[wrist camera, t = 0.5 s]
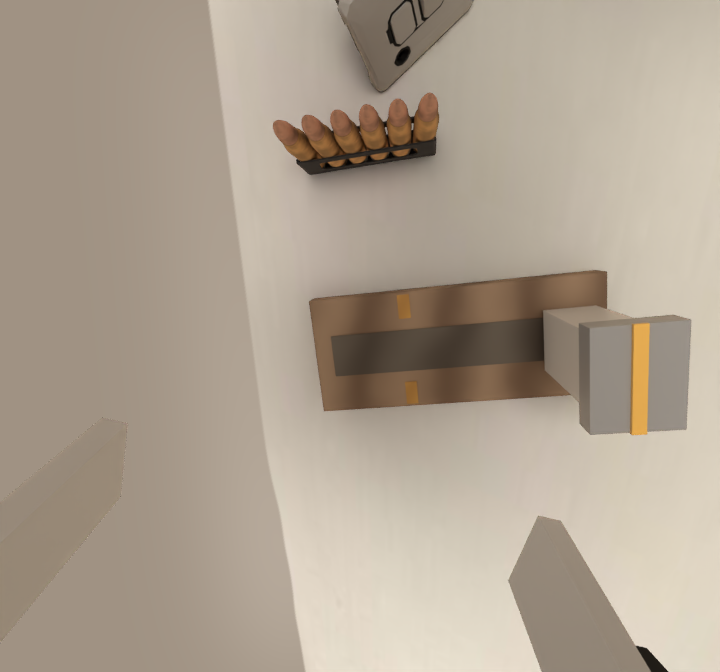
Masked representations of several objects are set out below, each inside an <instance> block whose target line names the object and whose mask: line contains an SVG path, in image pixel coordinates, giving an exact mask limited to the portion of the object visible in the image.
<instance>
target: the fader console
mask: <svg viewBox="0 0 720 672" xmlns="http://www.w3.org/2000/svg"><path fill="white" fill-rule="evenodd" d="M309 305H310V312H311V319H312V327H313V334H314V341H315V349H316V356H317V363H318V370H319V378H320V385H321V392H322V400H323V407H324V411H334V410H349V409H365V408H380V407H395V406H410V405H426V404H441V403H456V402H471V401H487V400H502V399H517V398H533V397H548V396H563V395H571V394H570V393H569V392H567V391H566V390H565V389H564V388H563V387H562V386H561V385H560V384H559V383H558V382H557V381H556V380H555V379H554V378H553V377H551V376H550V375H549V374H548V373H547V372H546V371H545V361H544V324H543V310H551V309H563V308H574V307H585V306H599V307H602V308H605V309H607V272H605V271H598V270H593V271H583V272H573V273H563V274H553V275H543V276H533V277H523V278H513V279H503V280H493V281H484V282H474V283H464V284H454V285H444V286H434V287H424V288H414V289H404V290H394V291H384V292H374V293H364V294H355V295H345V296H335V297H325V298H315V299H313V300H311V301H309Z"/></svg>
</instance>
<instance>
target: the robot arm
mask: <svg viewBox="0 0 720 672" xmlns="http://www.w3.org/2000/svg"><path fill="white" fill-rule="evenodd" d="M127 427H128V423H124V422H120V421H116V420H111V419H107V418H101V419H100V420H99V421H98V422H97V423H95V424H94V425H93V426H91V427H90V428H89V429H88V430H87V431H85V432H84V433H83V434H82V435H81V436H80V437H78V438H77V439H76V440H75V441H73V442H72V443H71V444H70V445H69V446H67V447H66V448H65V449H64V450H63V451H61V452H60V453H59V454H58V455H56V456H55V457H54V458H53V459H52V460H51V461H49V462H48V463H47V464H46V465H44V466H43V467H42V468H41V469H39V470H38V471H37V472H36V473H35V474H34V475H32V476H31V477H30V478H29V479H27V480H26V481H25V482H24V483H23V484H21V485H20V486H19V487H18V488H17V489H15V490H14V491H13V492H12V493H11V494H9V495H8V496H7V497H6V498H4V499H3V500H2V501H1V502H0V643H1V642H2V640H3V639H4V638H5V637H6V635H7V634H8V633H9V632H10V631H11V629H12V628H13V627H14V626H15V625H16V623H17V622H18V621H19V620H20V618H21V617H22V616H23V615H24V614H25V612H26V611H27V610H28V609H29V608H30V606H31V605H32V604H33V603H34V602H35V600H36V599H37V598H38V597H39V596H40V594H41V593H42V592H43V591H44V589H45V588H46V587H47V586H48V585H49V583H50V582H51V581H52V580H53V579H54V577H55V576H56V575H57V574H58V573H59V571H60V570H61V569H62V568H63V566H64V565H65V564H66V563H67V562H68V560H69V559H70V558H71V556H73V554H74V553H75V552H76V551H77V550H78V548H79V547H80V546H81V545H82V543H83V542H84V541H85V540H86V539H87V537H88V536H89V535H90V534H91V533H92V531H93V530H94V529H95V528H96V526H97V525H98V524H99V523H100V522H101V520H102V519H103V518H104V517H105V515H106V514H107V513H108V512H109V511H110V510H111V508H112V507H113V506H114V505H115V503H116V502H117V501H118V500H119V499H120V497H121V490H122V480H123V469H124V459H125V448H126V438H127ZM508 581H509V584H510V586H511V589H512V592H513V595H514V597H515V600H516V603H517V606H518V608H519V611H520V614H521V616H522V619H523V622H524V625H525V627H526V630H527V633H528V635H529V638H530V641H531V644H532V646H533V649H534V652H535V655H536V657H537V660H538V663H539V665H540V668H541V671H542V672H668V671H667V670H666V669H665V668H664V666H663V665H662V664H661V663H660V662H659V661H658V660H657V659H656V658H655V657H654V656H653V655H652V653H651V652H650V651H649V650H648V649H647V648H644V647H639V646H635V644H634V643H633V641H632V639H631V637H630V636H629V634H628V632H627V631H626V629H625V627H624V626H623V624H622V622H621V621H620V619H619V617H618V616H617V614H616V612H615V611H614V609H613V607H612V606H611V604H610V602H609V601H608V599H607V597H606V596H605V594H604V592H603V591H602V589H601V587H600V586H599V584H598V582H597V581H596V579H595V577H594V576H593V574H592V572H591V571H590V569H589V567H588V566H587V564H586V562H585V561H584V559H583V557H582V556H581V554H580V552H579V551H578V549H577V547H576V545H575V544H574V542H573V540H572V539H571V537H570V535H569V534H568V532H567V530H566V529H565V527H564V525H563V524H562V522H561V521H559V520H555V519H550V518H546V517H541V516H538V517H537V520H536V522H535V524H534V526H533V528H532V530H531V533H530V535H529V537H528V539H527V541H526V543H525V545H524V548H523V550H522V552H521V554H520V556H519V558H518V560H517V563H516V565H515V567H514V569H513V571H512V573H511V576H510V578H509V580H508Z"/></svg>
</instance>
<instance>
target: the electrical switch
mask: <svg viewBox="0 0 720 672" xmlns="http://www.w3.org/2000/svg"><path fill="white" fill-rule="evenodd" d="M335 1H336V3H337V5H338V11H339V13H340V15H341V17H342V19H343V22H344V24H346V25H347V27H348V29H349V31H350V34H351V36H352V38H353V40H354V42H355V45H356V47H357V49H358V51H359V52H360V54H361V56H362V58H363V61H364V63H365V65H366V67H367V70H368V72H369V74H370V75H369V79H370V81H371V83H372V85H373V86H374V87H375V88H376V89H377V90H378V91H384V90H386V89H387V88H388V87H389V86H390V85H392V84H393V83H394V82H395V81H396V80H397V79H398V78H399V77H400V76H401V75H402V74H403V73H404V72H405V71H406V70H407V69H408V68H409V67H410V66H411V65H412V64H413V63H414V62H415V61H416V60H417V59H418V58H419V57H420V56H421V55H422V54H423V53H424V52H426V51H427V50H428V49H429V48H430V47H431V46H432V45H433V44H434V43H435V42H436V41H437V40H438V39H439V38H440V37H441V36H442V35H443V34H444V33H445V32H446V31H447V30H448V29H449V28H450V27H451V26H452V25H453V24H454V23H455V22H456V21H457V20H458V19H459V18H461V17H462V16H463V15H464V14H465V13H466V12H467V11H468V10H469V8H470V7H471V4H472V2H473V0H335Z"/></svg>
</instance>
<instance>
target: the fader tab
mask: <svg viewBox="0 0 720 672" xmlns="http://www.w3.org/2000/svg"><path fill="white" fill-rule="evenodd" d="M543 324H544V361H545V371H546V372H547V373H548V374H549V375H550V376H551V377H553V378H554V379H555V380H556V381H557V382H558V383H559V384H560V385H561V386H562V387H563V388H564V389H565V390H566V391H567V392H569V393H570V394H571V395H572V396H573V397H574V398H575V399H576V400H577V401H578V402H579V413H580V424H581V426H582V427H583V428H584V429H585V430H586V431H587V432H588V433H589V434H590V435H595V434H613V433H630V434H632V435H642V434H647V432H651V431H669V430H686V428H687V405H688V382H689V359H690V337H691V320H690V319H687V318H683V317H679V316H676V315H666V316H654V317H643V318H632V317H629V316H626V315H623V314H620V313H617V312H614V311H611V310H608V309H605V308H602V307H599V306H585V307H574V308H563V309H551V310H543Z"/></svg>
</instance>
